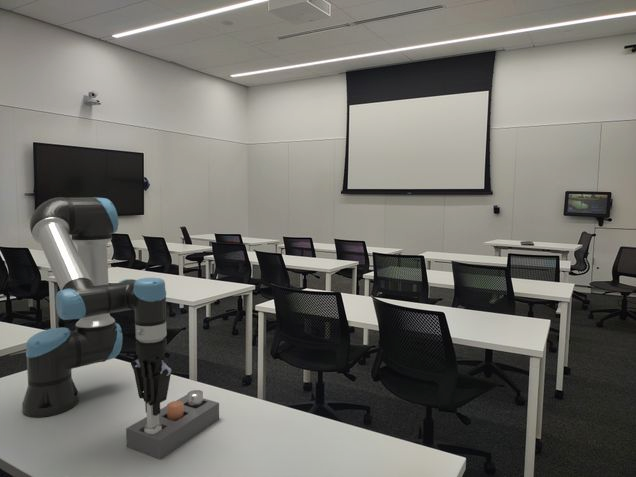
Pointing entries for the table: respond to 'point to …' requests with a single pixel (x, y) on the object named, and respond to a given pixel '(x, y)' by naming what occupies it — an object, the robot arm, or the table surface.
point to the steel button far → (195, 398)
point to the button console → (172, 429)
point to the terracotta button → (175, 410)
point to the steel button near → (153, 429)
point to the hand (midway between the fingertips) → (153, 425)
